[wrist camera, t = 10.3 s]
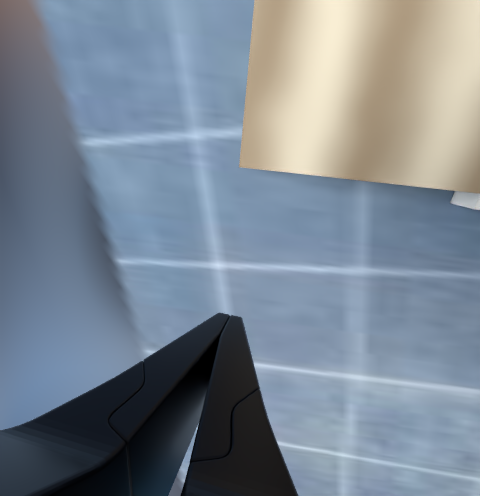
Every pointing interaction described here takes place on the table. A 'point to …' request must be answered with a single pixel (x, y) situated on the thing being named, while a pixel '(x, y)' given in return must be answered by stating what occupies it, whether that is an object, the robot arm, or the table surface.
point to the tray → (466, 199)
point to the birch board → (366, 91)
